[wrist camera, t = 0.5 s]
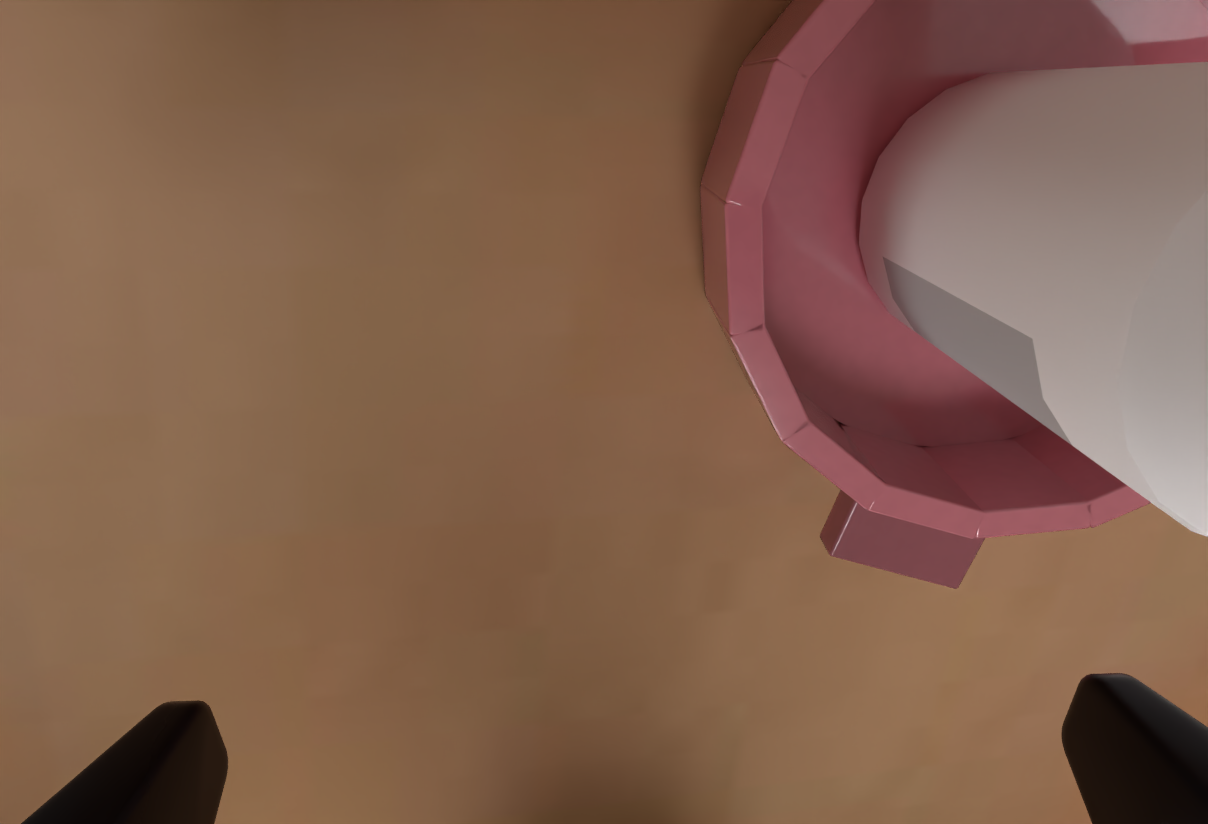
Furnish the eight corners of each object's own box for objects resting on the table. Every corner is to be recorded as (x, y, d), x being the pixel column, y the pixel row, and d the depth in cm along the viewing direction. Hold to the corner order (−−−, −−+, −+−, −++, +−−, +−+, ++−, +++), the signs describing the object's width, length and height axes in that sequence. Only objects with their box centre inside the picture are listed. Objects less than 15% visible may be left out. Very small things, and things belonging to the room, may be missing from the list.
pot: (1063, 560, 25) (1147, 642, 21) (613, 437, 23) (618, 503, 19) (1433, -63, 19) (1641, -100, 15) (862, -299, 17) (939, -408, 13)
